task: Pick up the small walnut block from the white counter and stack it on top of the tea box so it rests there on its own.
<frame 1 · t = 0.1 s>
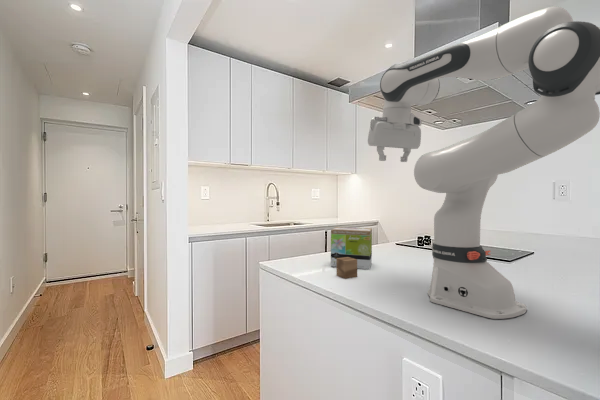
hand: (393, 161, 104), 39 cm above the worktop, tool pointing down, fingers open, 8 cm apart
walnut block: (346, 276, 106), on the worktop
tea box: (351, 266, 122), on the worktop
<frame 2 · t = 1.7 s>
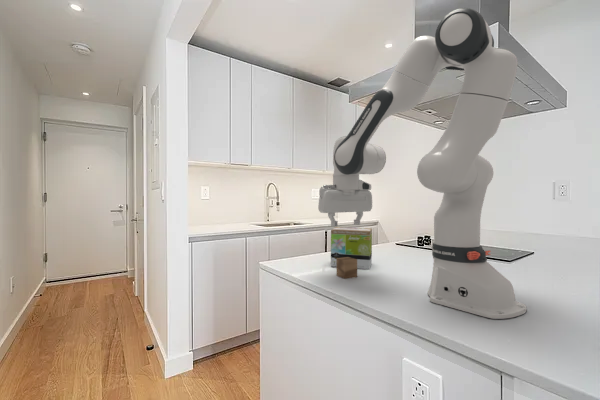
hand: (345, 225, 106), 17 cm above the worktop, tool pointing down, fingers open, 8 cm apart
nothing on the worktop moved.
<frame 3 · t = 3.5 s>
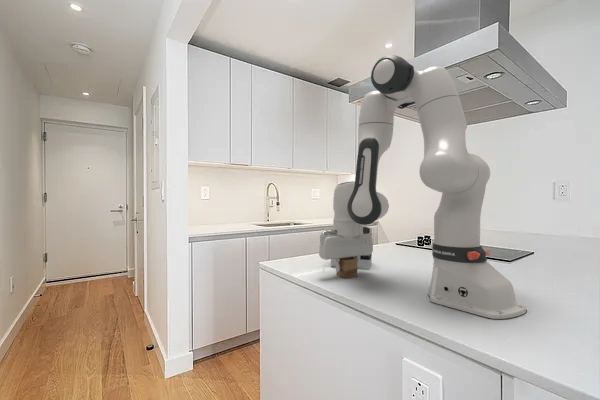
hand: (346, 269, 106), 2 cm above the worktop, tool pointing down, fingers closed on walnut block, 5 cm apart
walnut block: (346, 276, 106), on the worktop, touching gripper
everything else where it was.
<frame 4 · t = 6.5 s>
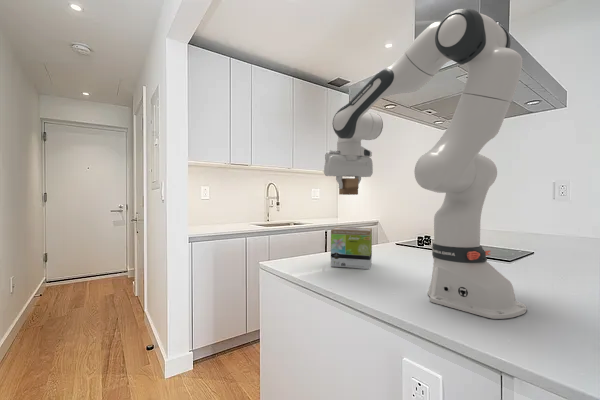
hand: (348, 188, 117), 30 cm above the worktop, tool pointing down, fingers closed on walnut block, 5 cm apart
walnut block: (348, 194, 117), point 28 cm above the worktop, touching gripper
everything else where it was.
when the fingers open (18 cm above the worktop, at t = 9.4 s): walnut block drops 1 cm, resting on tea box.
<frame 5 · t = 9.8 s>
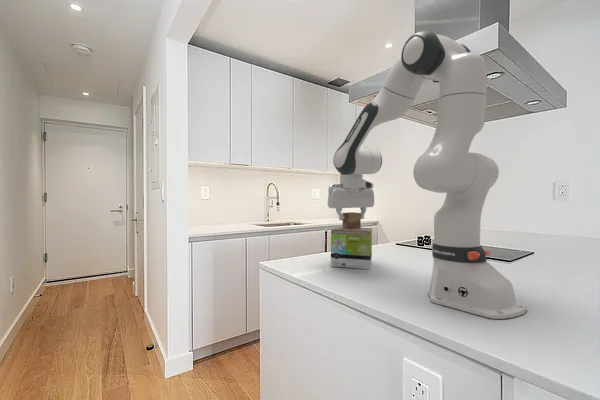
hand: (351, 219, 122), 18 cm above the worktop, tool pointing down, fingers open, 8 cm apart
walnut block: (351, 228, 122), point 15 cm above the worktop, touching tea box
tea box: (351, 266, 122), on the worktop, touching walnut block
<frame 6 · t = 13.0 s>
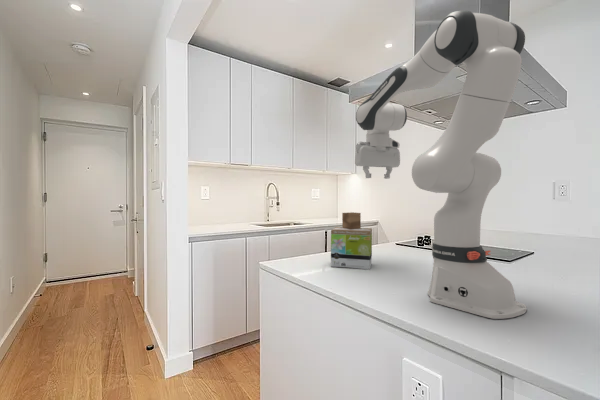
hand: (377, 178, 122), 34 cm above the worktop, tool pointing down, fingers open, 8 cm apart
nothing on the worktop moved.
at the end: walnut block inside the target area on the tea box (0.1 cm from its centre), point 15.0 cm above the tea box's base; walnut block tilted 0°; the gripper is holding nothing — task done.
